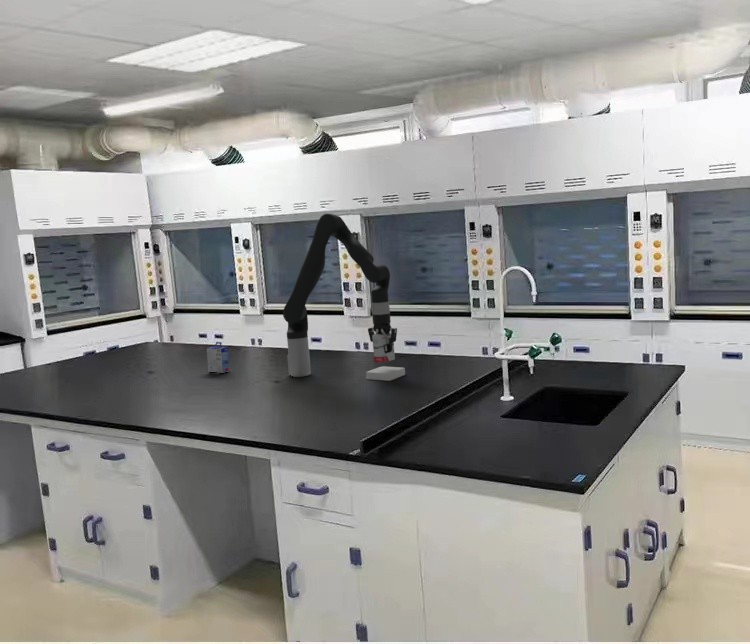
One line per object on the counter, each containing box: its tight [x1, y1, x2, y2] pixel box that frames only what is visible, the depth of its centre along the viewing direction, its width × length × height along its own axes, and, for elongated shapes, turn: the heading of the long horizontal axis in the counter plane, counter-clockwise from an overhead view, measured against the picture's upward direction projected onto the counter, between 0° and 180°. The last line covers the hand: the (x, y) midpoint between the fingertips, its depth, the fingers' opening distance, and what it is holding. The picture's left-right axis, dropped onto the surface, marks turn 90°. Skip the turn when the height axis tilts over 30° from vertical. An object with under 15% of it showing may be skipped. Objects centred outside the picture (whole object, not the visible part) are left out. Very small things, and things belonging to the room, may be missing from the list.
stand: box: [365, 365, 406, 382], centre depth 313 cm, size 12×12×3 cm
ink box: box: [372, 332, 396, 364], centre depth 312 cm, size 9×5×12 cm, turn 140°
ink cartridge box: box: [206, 341, 231, 372], centre depth 350 cm, size 10×6×14 cm, turn 58°
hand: (384, 351), depth 312 cm, fingers closed on ink box, 5 cm apart
